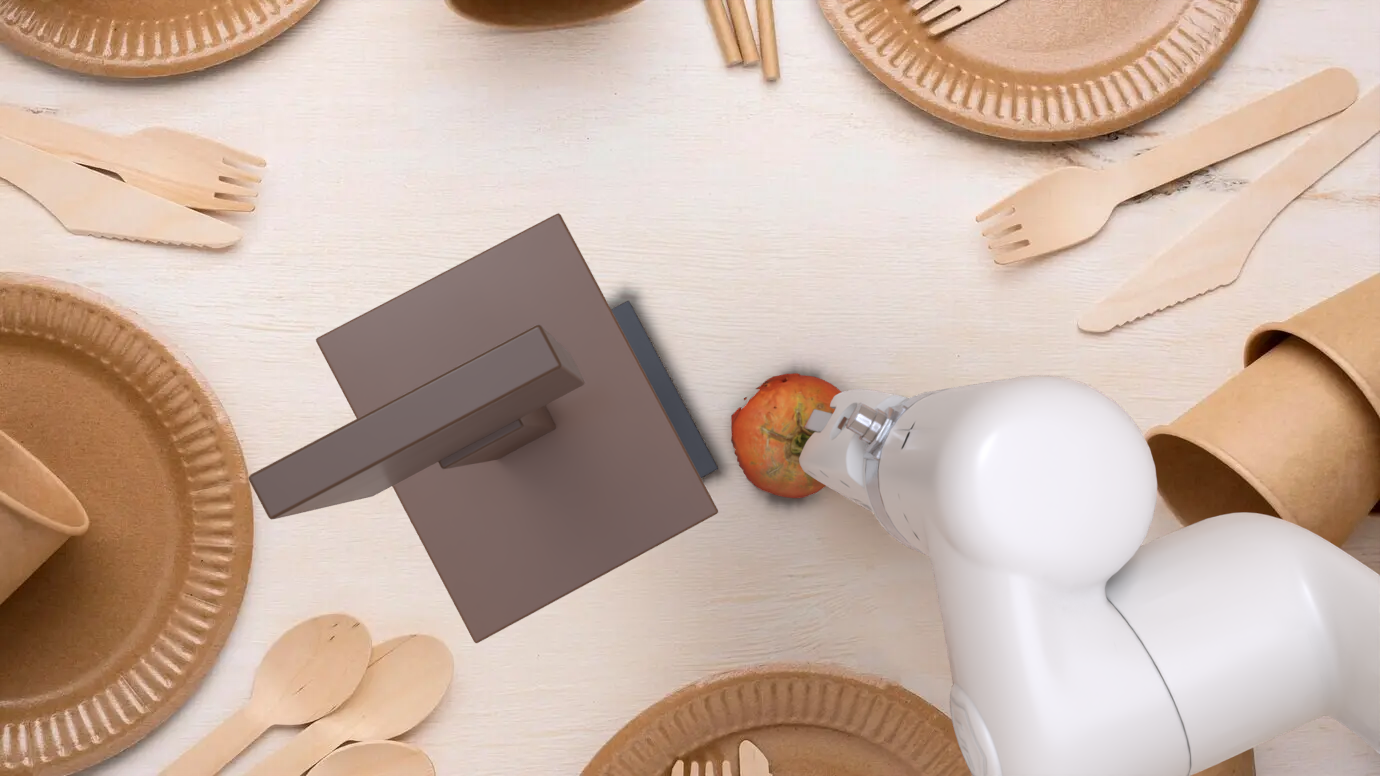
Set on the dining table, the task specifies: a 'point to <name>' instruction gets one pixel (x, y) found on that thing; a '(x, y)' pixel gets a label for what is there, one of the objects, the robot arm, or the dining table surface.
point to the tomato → (779, 433)
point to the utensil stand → (507, 429)
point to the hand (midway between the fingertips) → (868, 463)
